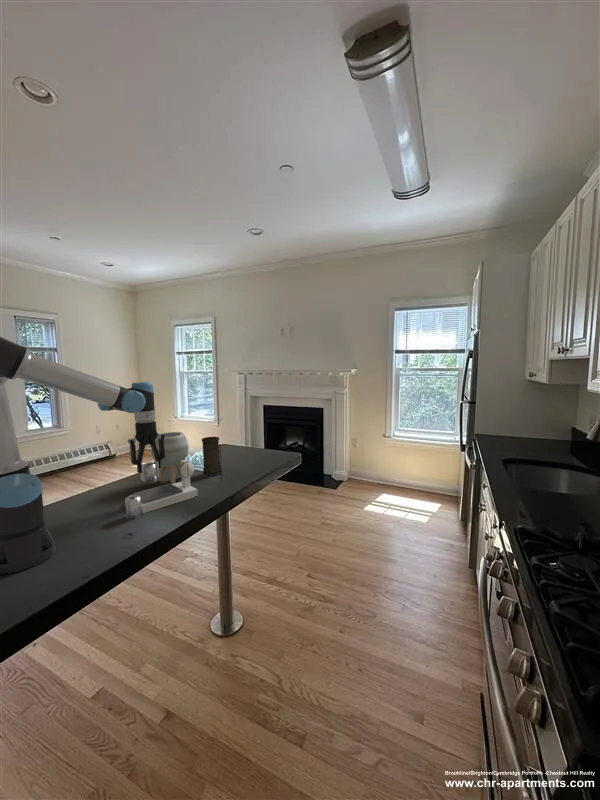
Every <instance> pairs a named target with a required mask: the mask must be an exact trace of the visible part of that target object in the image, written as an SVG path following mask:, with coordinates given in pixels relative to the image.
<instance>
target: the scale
mask: <svg viewBox="0 0 600 800" xmlns="http://www.w3.org/2000/svg"><path fill="white" fill-rule="evenodd" d="M194 472H195V465H194V463H192V462H191V461H190V460H188V459H185V460H182V461H181V466H180V468H179V473H178V475H179V474H180V475H181V477H182V478H181V481H179V482H176V483H174V484H172V485H174V486H176V487H178V488H179V489H181V490H183V492H182V493H178V494H175V495H172V496H168V497H165V498H162V499H158V500H155V501H151V502H148V503H145V504H144V503H143V502H142V501H141V510H142V514H146V513H149V512H152V511H156V510H158V509H161V508H164V507H167V506H171V505H173V504H174V505H175V504H177V503H180V502H184V501H187V500H190V499H193V498H196V497H195V496H197V497H198V489H197V488H196V487H194V486H192V485H191V476H192V475H193V474H194ZM180 475H179V476H180ZM132 495H133V494H131V495H130V496H132Z"/></svg>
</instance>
